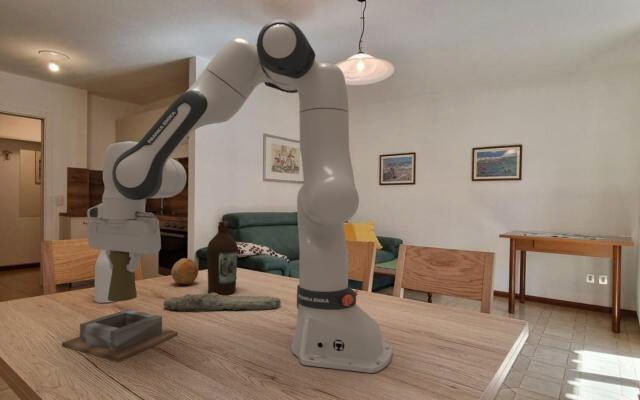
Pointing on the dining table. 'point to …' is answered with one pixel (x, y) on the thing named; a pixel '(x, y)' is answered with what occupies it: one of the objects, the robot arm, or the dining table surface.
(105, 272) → the milk bottle
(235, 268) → the olive oil
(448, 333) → the dining table surface
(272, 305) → the long grey stone
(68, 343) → the socket block
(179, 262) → the onion
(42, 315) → the dining table surface
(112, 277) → the cork
